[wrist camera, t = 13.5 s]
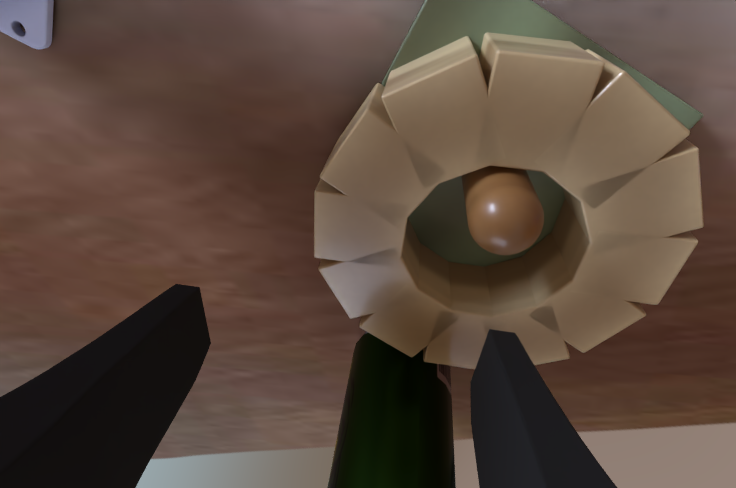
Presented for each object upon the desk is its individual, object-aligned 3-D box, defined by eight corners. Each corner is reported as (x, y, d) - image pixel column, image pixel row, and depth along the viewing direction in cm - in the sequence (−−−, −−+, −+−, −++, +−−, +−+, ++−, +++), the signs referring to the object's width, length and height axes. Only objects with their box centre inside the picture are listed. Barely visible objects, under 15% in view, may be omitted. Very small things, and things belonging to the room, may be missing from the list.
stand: (325, 190, 19) (285, 279, 14) (451, -52, 13) (464, -55, 8) (508, 284, 21) (534, 395, 15) (687, 105, 15) (820, 183, 10)
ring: (266, 176, 17) (237, 216, 15) (557, -71, 12) (593, -78, 9) (442, 352, 22) (443, 405, 20) (711, 234, 16) (764, 287, 14)
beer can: (419, 301, 22) (410, 584, 12) (466, 364, 24) (490, 644, 14) (337, 333, 24) (272, 595, 14) (386, 388, 26) (360, 646, 16)
